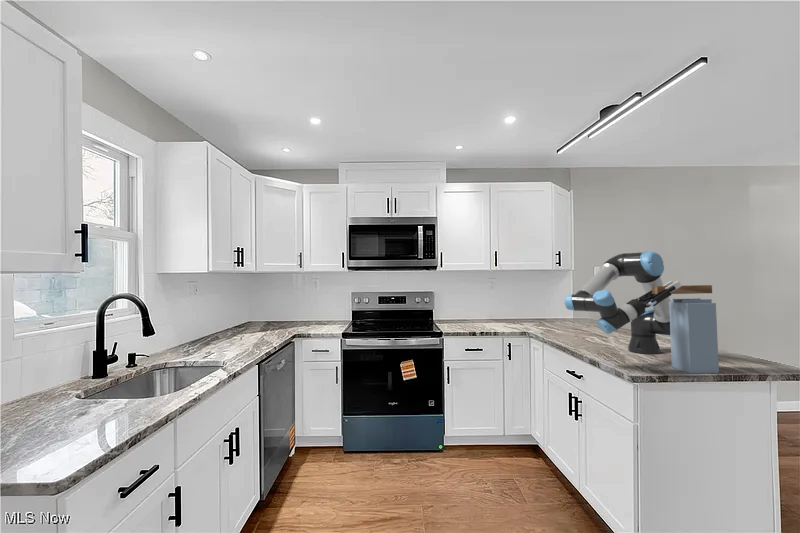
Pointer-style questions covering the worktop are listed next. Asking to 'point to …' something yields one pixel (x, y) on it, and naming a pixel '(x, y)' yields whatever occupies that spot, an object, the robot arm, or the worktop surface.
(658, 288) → the brown block
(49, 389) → the worktop surface
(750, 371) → the worktop surface
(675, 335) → the tall blue prism
